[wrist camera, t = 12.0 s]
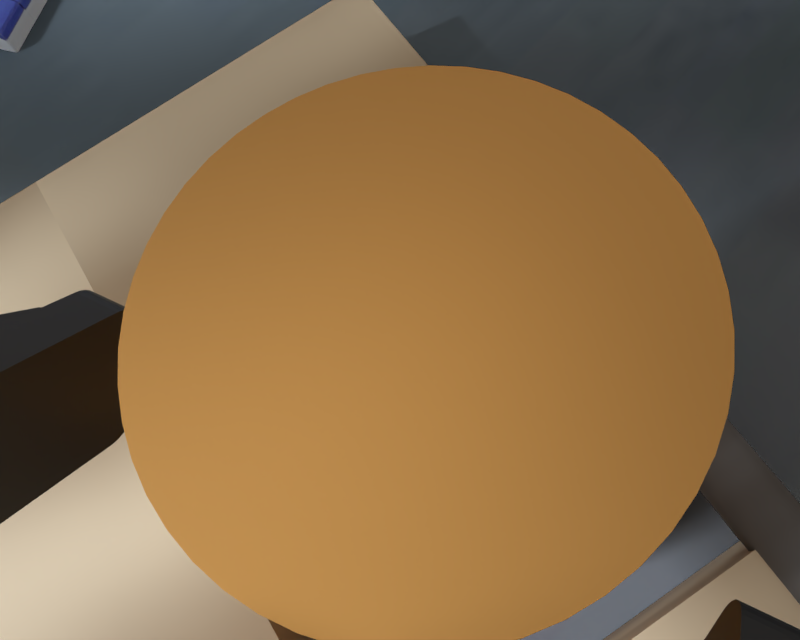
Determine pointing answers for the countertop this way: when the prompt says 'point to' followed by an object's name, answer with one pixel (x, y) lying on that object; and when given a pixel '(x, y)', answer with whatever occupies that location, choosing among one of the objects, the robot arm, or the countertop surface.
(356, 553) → the ringed domed cylinder
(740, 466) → the notched wooden board
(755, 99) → the countertop surface
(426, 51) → the countertop surface
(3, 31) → the blue book
